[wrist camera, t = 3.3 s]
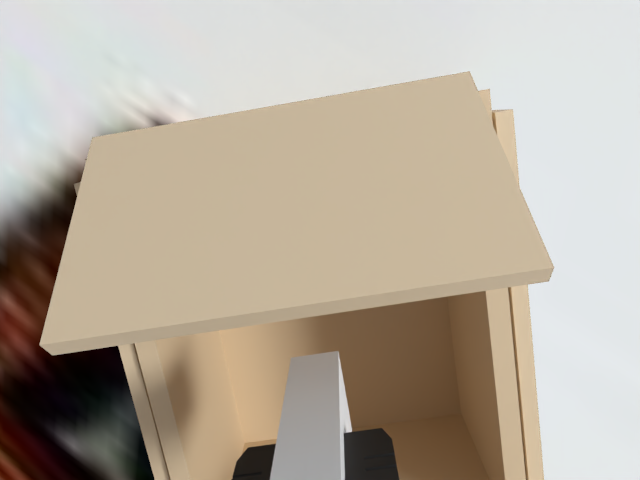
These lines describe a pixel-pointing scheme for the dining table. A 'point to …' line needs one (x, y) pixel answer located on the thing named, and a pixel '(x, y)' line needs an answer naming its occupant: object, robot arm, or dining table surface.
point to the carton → (356, 381)
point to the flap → (291, 216)
